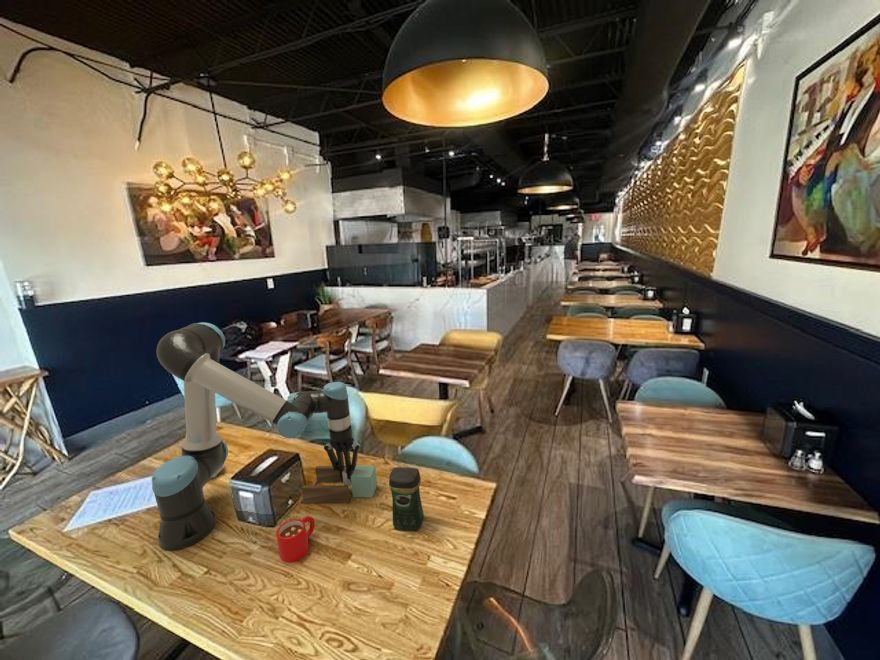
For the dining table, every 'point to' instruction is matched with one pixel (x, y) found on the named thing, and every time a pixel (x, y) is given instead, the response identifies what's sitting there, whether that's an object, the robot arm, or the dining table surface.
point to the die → (218, 471)
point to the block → (364, 481)
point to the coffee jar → (406, 498)
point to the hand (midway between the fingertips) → (347, 486)
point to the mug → (294, 538)
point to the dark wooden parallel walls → (326, 488)
